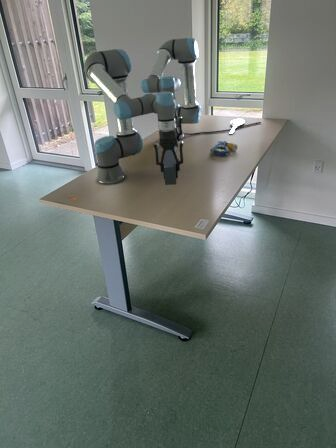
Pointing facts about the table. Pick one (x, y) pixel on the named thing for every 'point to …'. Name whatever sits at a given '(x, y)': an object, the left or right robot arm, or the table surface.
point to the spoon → (236, 124)
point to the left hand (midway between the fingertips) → (170, 177)
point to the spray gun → (223, 148)
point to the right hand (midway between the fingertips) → (172, 146)
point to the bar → (170, 167)
